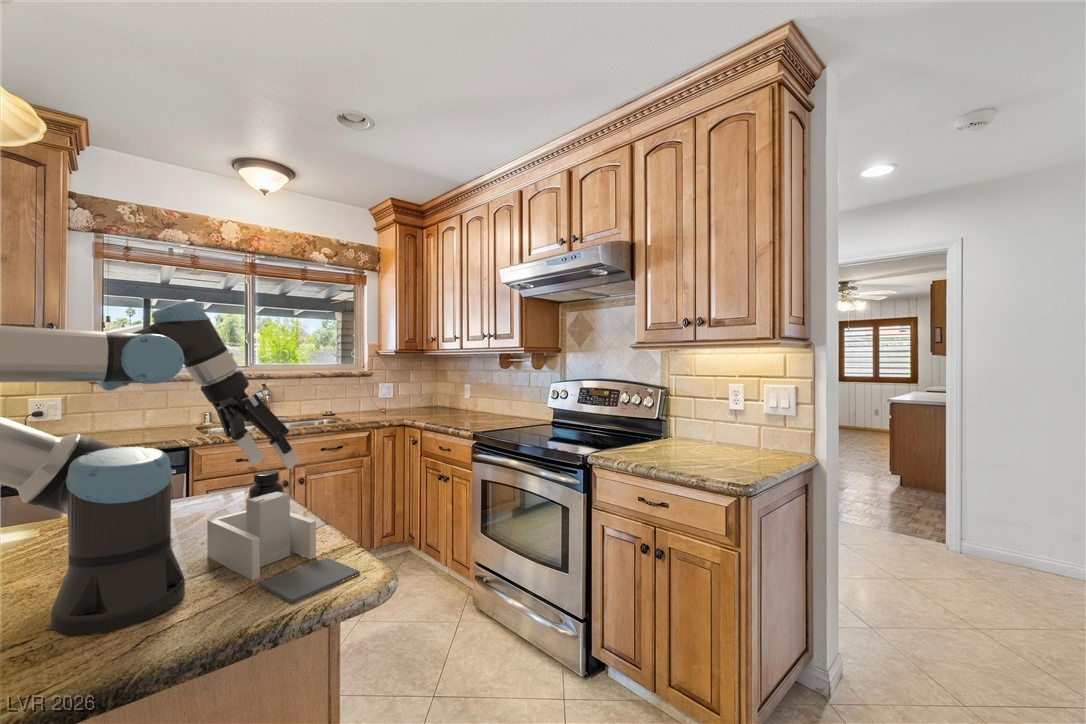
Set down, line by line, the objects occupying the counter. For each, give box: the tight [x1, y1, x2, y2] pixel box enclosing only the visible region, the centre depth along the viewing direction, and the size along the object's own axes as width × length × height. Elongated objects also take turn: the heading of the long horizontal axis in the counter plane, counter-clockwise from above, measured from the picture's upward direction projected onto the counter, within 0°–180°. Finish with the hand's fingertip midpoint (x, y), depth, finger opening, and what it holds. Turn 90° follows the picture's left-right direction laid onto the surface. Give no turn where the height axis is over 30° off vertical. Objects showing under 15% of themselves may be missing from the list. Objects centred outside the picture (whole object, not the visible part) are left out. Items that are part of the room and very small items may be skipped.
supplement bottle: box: [248, 470, 285, 499], centre depth 107 cm, size 7×7×12 cm
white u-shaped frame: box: [206, 509, 317, 581], centre depth 91 cm, size 11×17×7 cm, turn 56°
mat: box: [258, 557, 361, 604], centre depth 82 cm, size 12×10×1 cm
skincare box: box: [246, 492, 291, 568], centre depth 89 cm, size 6×4×12 cm
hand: (275, 463), depth 102 cm, fingers open, 13 cm apart
